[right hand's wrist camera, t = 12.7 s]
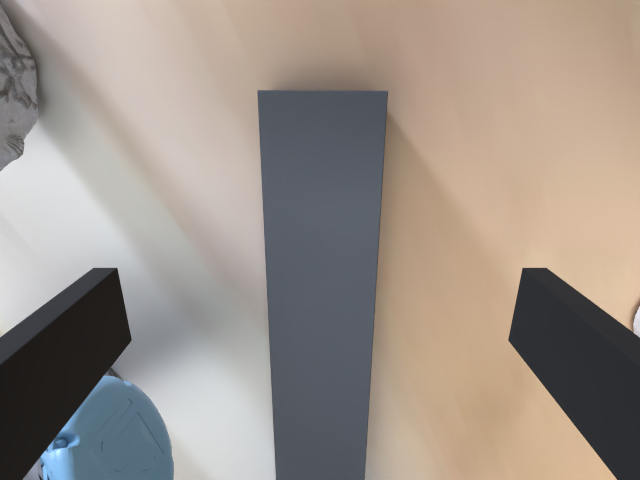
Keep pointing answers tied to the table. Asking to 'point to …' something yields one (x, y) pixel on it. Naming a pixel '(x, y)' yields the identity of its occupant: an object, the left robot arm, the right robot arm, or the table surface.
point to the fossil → (15, 92)
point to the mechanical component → (637, 323)
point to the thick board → (321, 272)
